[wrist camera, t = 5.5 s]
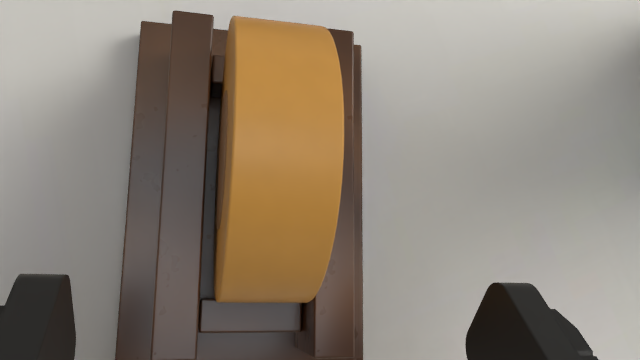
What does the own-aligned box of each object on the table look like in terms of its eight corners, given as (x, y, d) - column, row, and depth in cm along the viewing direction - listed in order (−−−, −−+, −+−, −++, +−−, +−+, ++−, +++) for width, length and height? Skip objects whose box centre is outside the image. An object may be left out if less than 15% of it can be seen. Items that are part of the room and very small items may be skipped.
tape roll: (286, 310, 18) (352, 290, 11) (208, 310, 18) (224, 289, 10) (287, 97, 20) (342, -36, 13) (218, 91, 20) (237, -51, 12)
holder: (354, 372, 20) (395, 393, 16) (116, 379, 18) (97, 404, 14) (354, 55, 22) (389, 6, 18) (143, 32, 20) (132, -27, 16)
